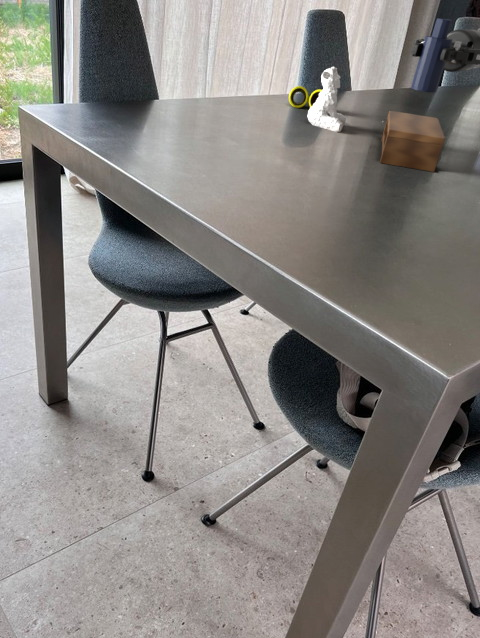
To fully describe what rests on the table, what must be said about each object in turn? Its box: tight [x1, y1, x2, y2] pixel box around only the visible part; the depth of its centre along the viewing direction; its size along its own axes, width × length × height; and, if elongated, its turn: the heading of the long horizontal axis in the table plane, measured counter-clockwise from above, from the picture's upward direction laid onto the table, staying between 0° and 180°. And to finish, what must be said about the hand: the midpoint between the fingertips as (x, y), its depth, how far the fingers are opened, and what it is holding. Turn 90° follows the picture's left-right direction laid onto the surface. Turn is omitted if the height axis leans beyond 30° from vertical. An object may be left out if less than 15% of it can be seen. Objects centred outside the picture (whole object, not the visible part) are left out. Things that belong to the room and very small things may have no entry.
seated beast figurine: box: [306, 66, 347, 133], centre depth 126 cm, size 10×9×12 cm
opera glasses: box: [288, 85, 323, 109], centre depth 143 cm, size 10×5×5 cm, turn 69°
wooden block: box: [379, 110, 446, 173], centre depth 113 cm, size 10×20×6 cm, turn 164°
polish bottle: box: [410, 17, 453, 94], centre depth 109 cm, size 5×5×12 cm
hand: (428, 52), depth 107 cm, fingers closed on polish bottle, 5 cm apart
